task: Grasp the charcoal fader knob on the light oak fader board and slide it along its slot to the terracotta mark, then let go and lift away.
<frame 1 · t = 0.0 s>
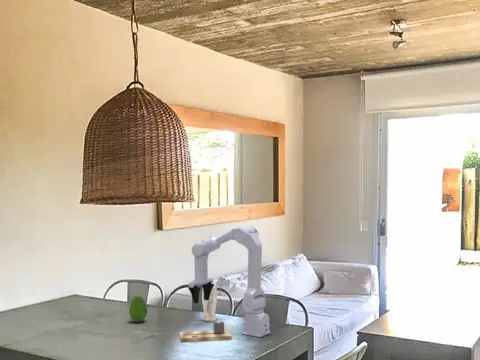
hand: (201, 301, 241), 10 cm above the table, fingers open, 7 cm apart
fader board: (205, 337, 219), on the table
fader knob: (218, 327, 220), point 4 cm above the table, slide at 0.0 cm
avocado: (138, 322, 246), on the table
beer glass: (209, 320, 248), on the table, touching gripper
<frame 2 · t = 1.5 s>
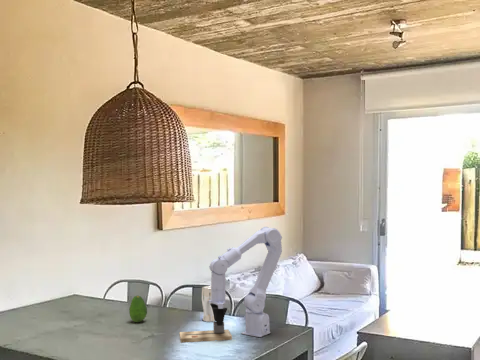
hand: (218, 323, 220), 6 cm above the table, fingers open, 7 cm apart
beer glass: (209, 320, 248), on the table
everything else where it was.
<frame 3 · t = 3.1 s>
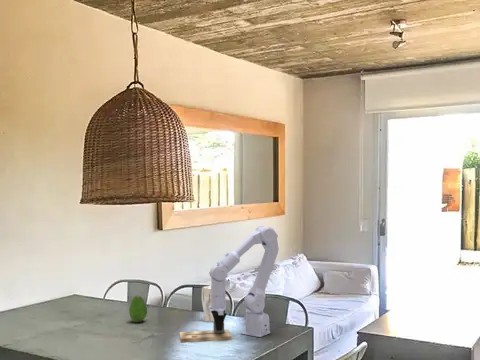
hand: (218, 329, 220), 3 cm above the table, fingers closed on fader knob, 2 cm apart
fader knob: (218, 327, 220), point 4 cm above the table, slide at 0.0 cm, touching gripper
everything else where it was.
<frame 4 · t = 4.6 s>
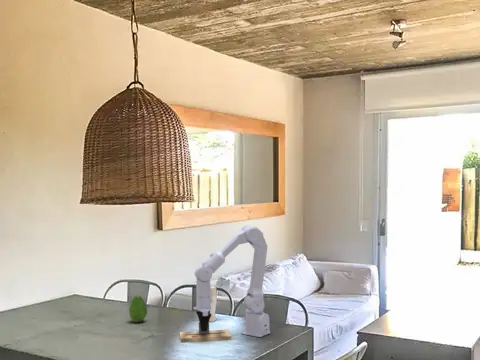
hand: (203, 330, 219), 3 cm above the table, fingers closed on fader knob, 2 cm apart
fader knob: (203, 327, 219), point 4 cm above the table, slide at 6.0 cm, touching gripper
everything else where it was.
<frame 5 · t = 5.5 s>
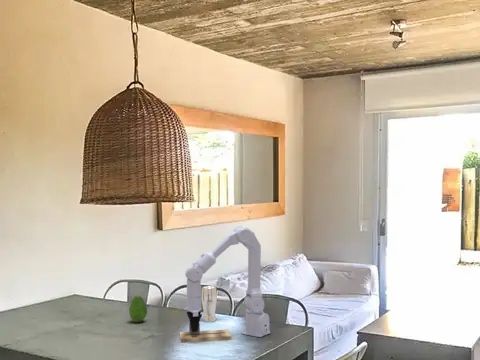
hand: (194, 330, 218), 3 cm above the table, fingers closed on fader knob, 2 cm apart
fader knob: (194, 328, 218), point 4 cm above the table, slide at 9.8 cm, touching gripper
everything else where it was.
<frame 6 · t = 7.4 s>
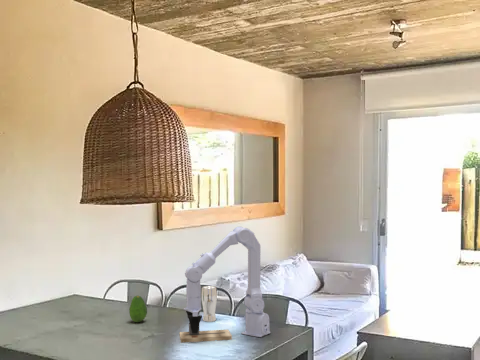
hand: (194, 330, 218), 3 cm above the table, fingers open, 7 cm apart
fader knob: (194, 328, 218), point 4 cm above the table, slide at 10.0 cm
everything else where it was.
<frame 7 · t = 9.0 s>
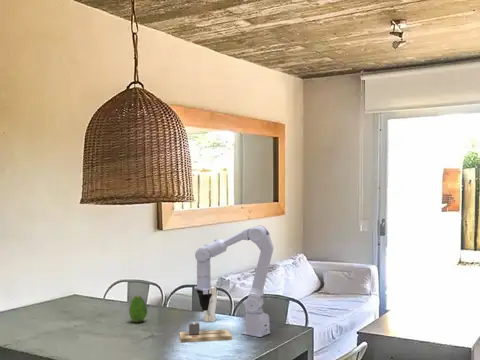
hand: (204, 308, 229), 9 cm above the table, fingers open, 7 cm apart
nothing on the table moved.
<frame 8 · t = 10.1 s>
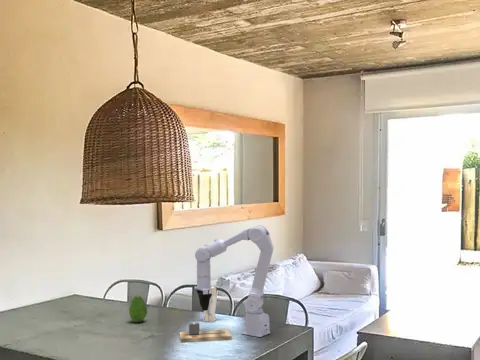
hand: (204, 308, 229), 9 cm above the table, fingers open, 7 cm apart
nothing on the table moved.
at the end: fader knob slide at 10.0 cm; the gripper is holding nothing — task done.
